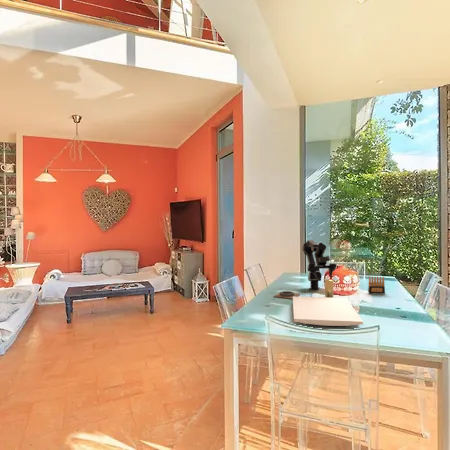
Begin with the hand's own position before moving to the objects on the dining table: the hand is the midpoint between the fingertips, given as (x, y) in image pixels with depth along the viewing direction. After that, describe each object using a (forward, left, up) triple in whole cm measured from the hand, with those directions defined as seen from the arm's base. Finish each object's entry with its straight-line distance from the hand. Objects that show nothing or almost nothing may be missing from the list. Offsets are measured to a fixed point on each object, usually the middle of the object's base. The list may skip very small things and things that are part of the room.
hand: (324, 277), depth 219 cm
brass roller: (+7, +5, -13) cm, 15 cm away
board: (+41, +9, -14) cm, 44 cm away
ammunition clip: (-26, +30, -13) cm, 42 cm away
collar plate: (+9, -23, -13) cm, 28 cm away
